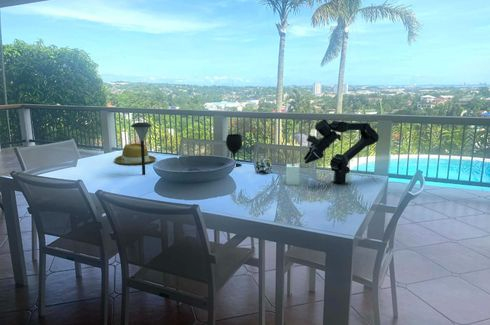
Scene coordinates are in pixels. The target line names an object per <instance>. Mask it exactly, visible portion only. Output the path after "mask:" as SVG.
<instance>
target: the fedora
mask: <svg viewBox="0 0 490 325" xmlns="http://www.w3.org/2000/svg"><path fill="white" fill-rule="evenodd" d="M121 154H122V155H119V156H116V157H115V158H114V160H113V161H114V162H115V163H117V164H120V165H129V166H130V165H131V166H134V165H135V166H136V165H142V158H141V142H139V143H137V142H135V143H134V142H133V143H129V144H128V143H127V144H126V143H125V145H124V146H123V149H122V153H121ZM144 155H145V165H146V164H150V163H153V162H154V161H156V160H157V158H156V157H155V156H153V155H149V151H148V147H147V146H146V144H144Z"/></svg>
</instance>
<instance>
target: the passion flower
mask: <svg viewBox="0 0 490 325" xmlns="http://www.w3.org/2000/svg"><path fill="white" fill-rule="evenodd" d="M255 169H257V171H256V172H259V170H260V169H261V170H262V171H264V172H265V173H266V174H271V171H273V164H272V160H271V159H270V158H265V157H262V156H260V160H257V161H256V166H255Z"/></svg>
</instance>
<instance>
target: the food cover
mask: <svg viewBox="0 0 490 325" xmlns="http://www.w3.org/2000/svg"><path fill="white" fill-rule="evenodd" d="M300 170H301V169H300V165H299V164H294V163H291V164H289V163H286V171H285V172H286V173H285V176H286V184H289V185H299V177H300Z"/></svg>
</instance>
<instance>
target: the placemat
mask: <svg viewBox="0 0 490 325" xmlns="http://www.w3.org/2000/svg"><path fill="white" fill-rule="evenodd" d="M309 180H310V177H307V176H306V177H305V176H299V185H289V184H286V175H284V176H283V177H282V178H281V179H280V180H279V181H278V182H277V183H276V184H275V185H276V186H283V187H284V186H285V187H294V188H303V187H304V186H305V184H307V182H308V181H309Z"/></svg>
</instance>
